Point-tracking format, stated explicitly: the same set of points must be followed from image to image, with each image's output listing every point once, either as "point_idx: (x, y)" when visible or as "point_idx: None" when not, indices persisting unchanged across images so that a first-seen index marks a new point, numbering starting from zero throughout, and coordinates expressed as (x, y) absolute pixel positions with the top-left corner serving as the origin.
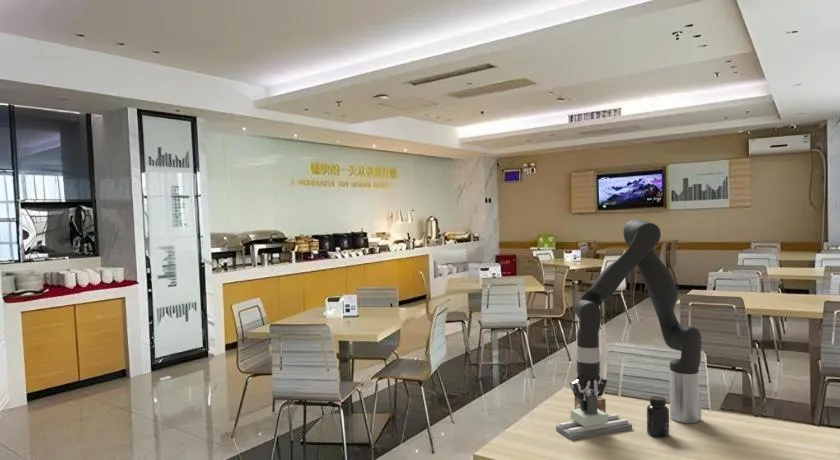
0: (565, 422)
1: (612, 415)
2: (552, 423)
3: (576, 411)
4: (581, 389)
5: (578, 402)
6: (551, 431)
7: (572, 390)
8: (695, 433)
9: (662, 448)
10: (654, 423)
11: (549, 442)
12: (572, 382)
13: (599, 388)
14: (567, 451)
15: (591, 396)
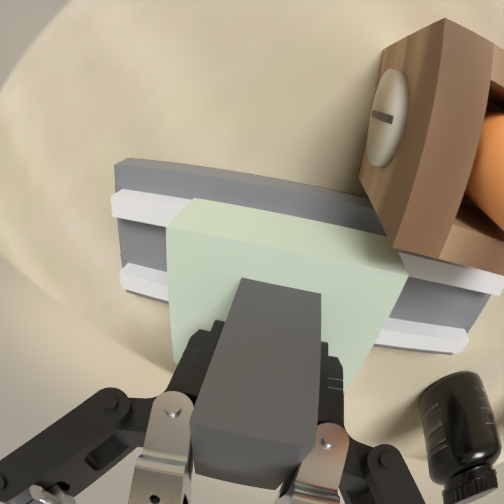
0: (146, 203)
1: (479, 285)
2: (164, 66)
3: (188, 276)
4: (146, 486)
5: (415, 92)
6: (102, 162)
7: (42, 431)
8: (496, 409)
9: (355, 432)
10: (425, 439)
11: (60, 246)
12: (5, 502)
13: (405, 502)
14: (90, 320)
15: (225, 478)
